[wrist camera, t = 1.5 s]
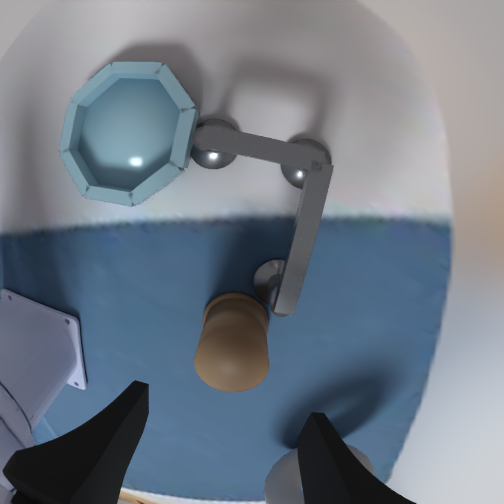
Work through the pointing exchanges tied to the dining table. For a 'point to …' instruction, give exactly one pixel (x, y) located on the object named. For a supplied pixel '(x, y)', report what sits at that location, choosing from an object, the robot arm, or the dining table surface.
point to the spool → (233, 343)
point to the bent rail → (296, 173)
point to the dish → (128, 132)
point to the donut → (295, 478)
